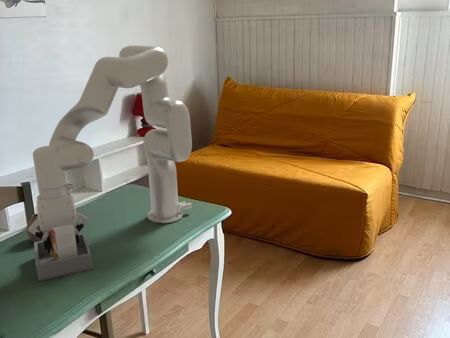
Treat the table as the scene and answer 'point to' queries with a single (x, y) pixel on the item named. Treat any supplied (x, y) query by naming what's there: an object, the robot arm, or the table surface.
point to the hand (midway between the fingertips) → (62, 247)
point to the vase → (32, 220)
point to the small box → (62, 242)
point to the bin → (62, 261)
